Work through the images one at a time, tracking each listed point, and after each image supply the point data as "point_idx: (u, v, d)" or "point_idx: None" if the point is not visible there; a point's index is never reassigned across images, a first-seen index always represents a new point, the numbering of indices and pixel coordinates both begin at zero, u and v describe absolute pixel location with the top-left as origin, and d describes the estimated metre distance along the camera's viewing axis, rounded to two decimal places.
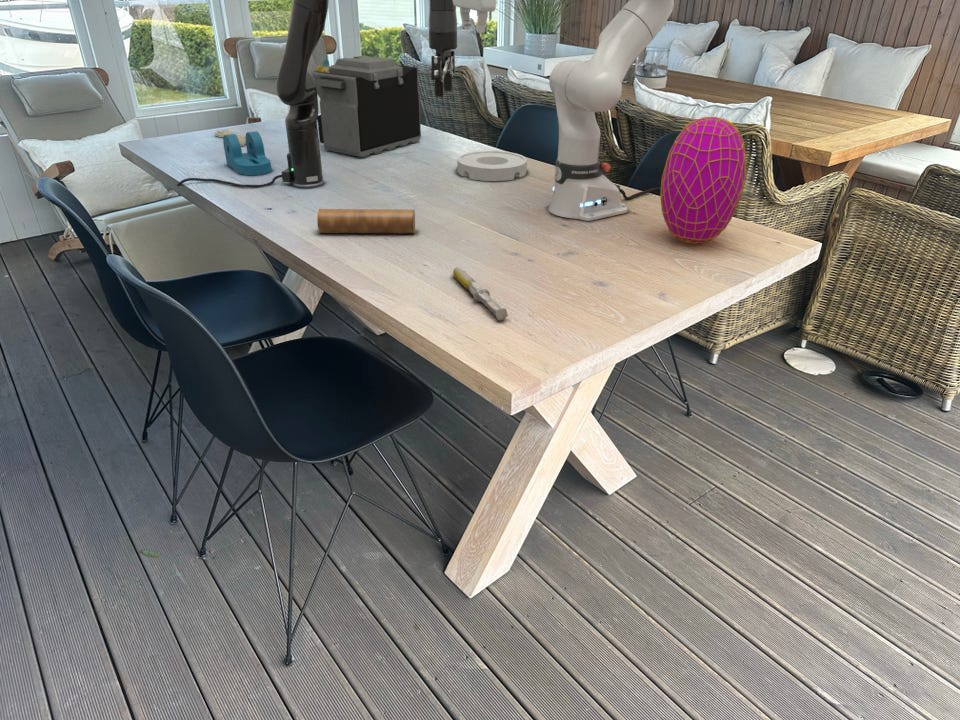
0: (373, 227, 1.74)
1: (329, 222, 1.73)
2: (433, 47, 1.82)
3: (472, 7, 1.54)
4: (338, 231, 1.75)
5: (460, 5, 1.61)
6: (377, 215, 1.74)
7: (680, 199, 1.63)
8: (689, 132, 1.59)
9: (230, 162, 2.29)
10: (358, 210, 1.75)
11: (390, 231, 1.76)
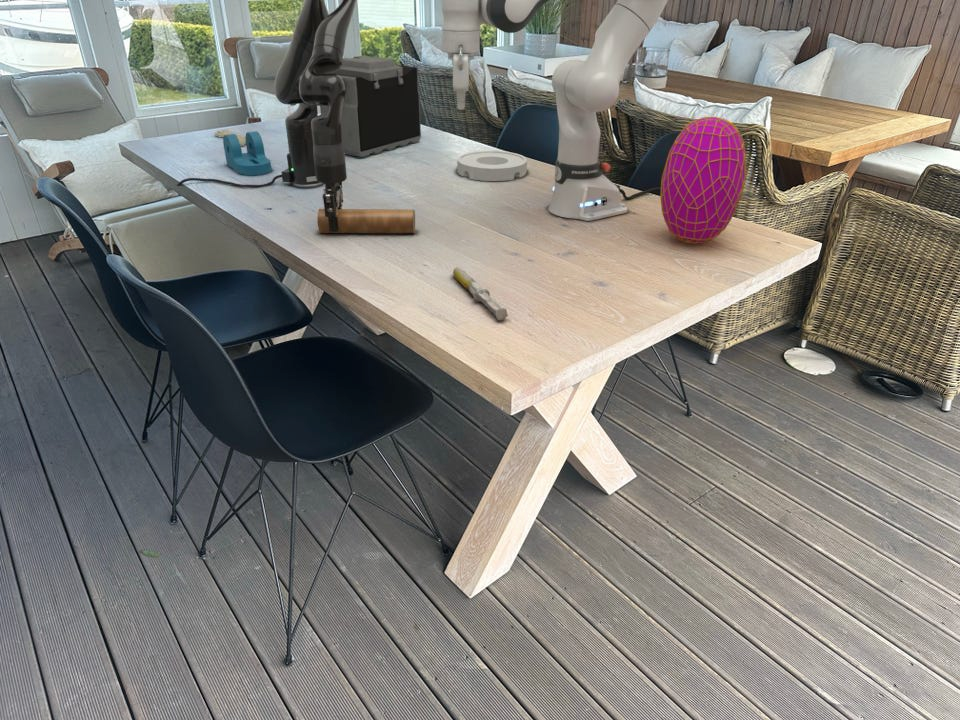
0: (373, 227, 1.74)
1: None
2: None
3: None
4: (338, 231, 1.75)
5: None
6: (377, 215, 1.74)
7: (680, 199, 1.63)
8: (689, 132, 1.59)
9: (230, 162, 2.29)
10: (358, 210, 1.75)
11: (390, 231, 1.76)
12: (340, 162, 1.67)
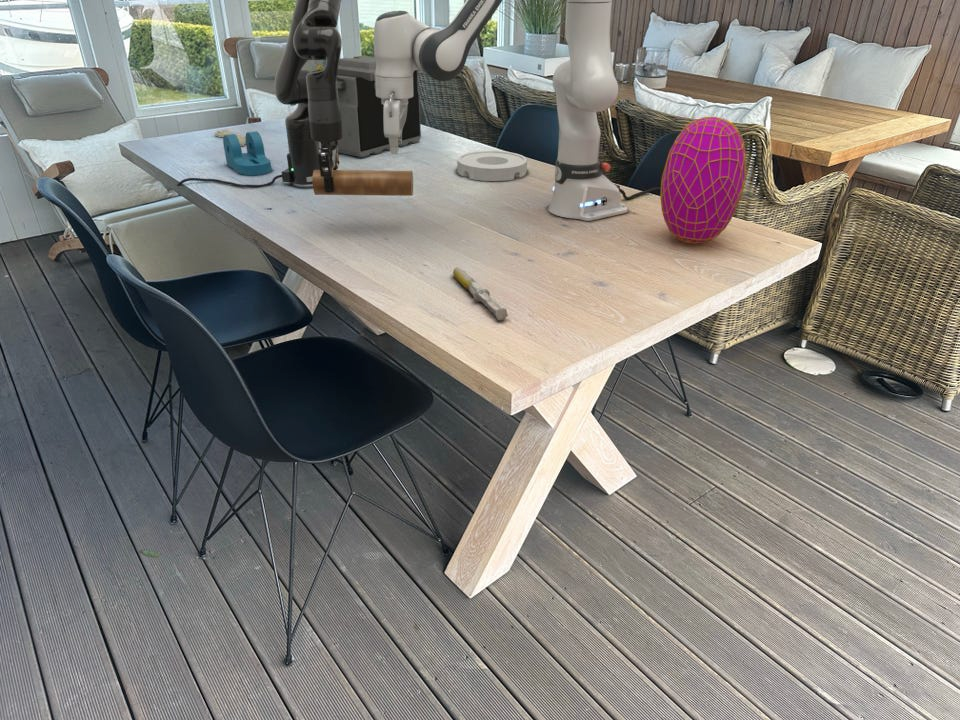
0: (370, 188, 1.69)
1: None
2: None
3: None
4: (334, 193, 1.70)
5: None
6: (374, 176, 1.69)
7: (680, 199, 1.63)
8: (689, 132, 1.59)
9: (230, 162, 2.29)
10: (354, 171, 1.70)
11: (387, 193, 1.71)
12: (336, 119, 1.62)
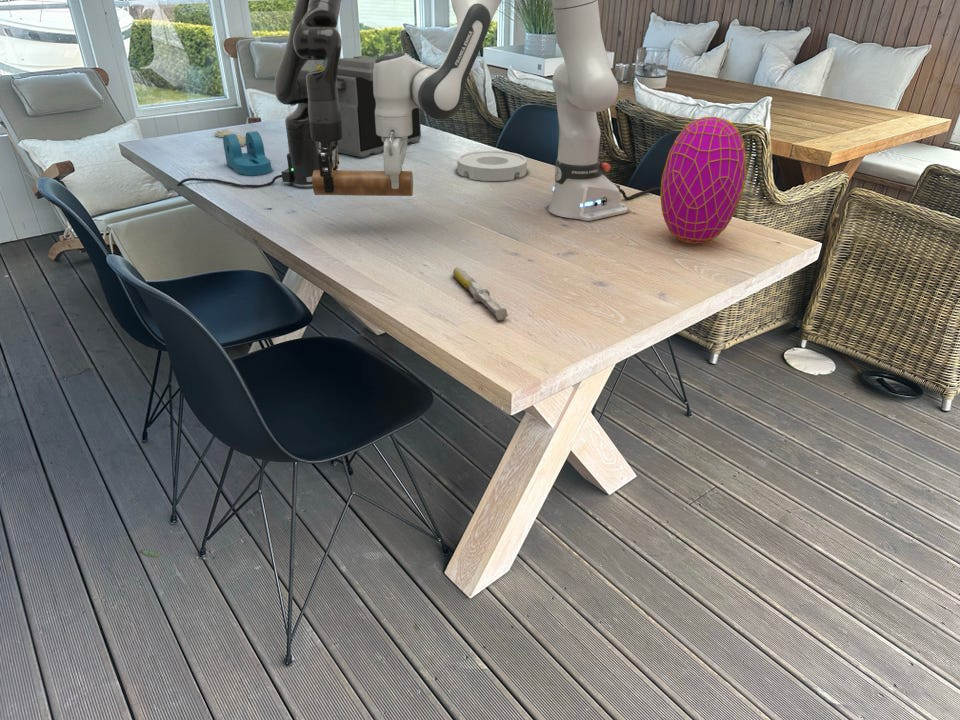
0: (370, 189, 1.69)
1: None
2: None
3: None
4: (334, 193, 1.70)
5: None
6: (374, 176, 1.69)
7: (680, 199, 1.63)
8: (689, 132, 1.59)
9: (230, 162, 2.29)
10: (354, 171, 1.70)
11: (387, 193, 1.70)
12: (336, 120, 1.62)
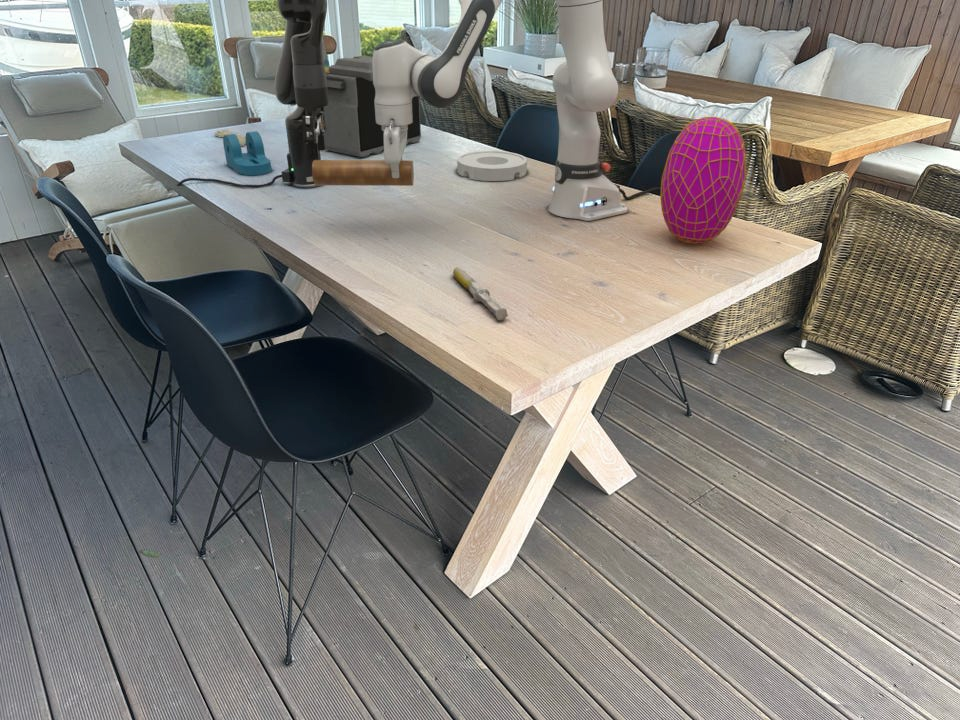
0: (370, 178, 1.68)
1: (324, 173, 1.67)
2: None
3: None
4: (334, 183, 1.69)
5: None
6: (374, 166, 1.67)
7: (680, 199, 1.63)
8: (689, 132, 1.59)
9: (230, 162, 2.29)
10: (354, 161, 1.68)
11: (387, 183, 1.69)
12: (321, 85, 1.57)
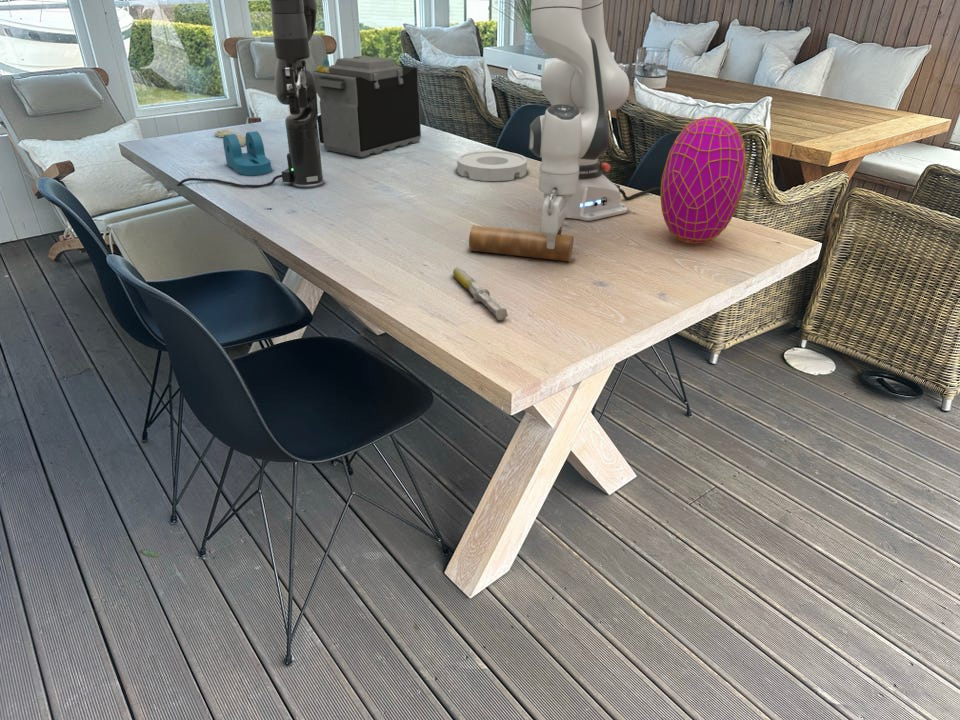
0: (526, 250, 1.62)
1: (480, 241, 1.63)
2: None
3: None
4: (489, 251, 1.65)
5: None
6: (532, 238, 1.61)
7: (680, 199, 1.63)
8: (689, 132, 1.59)
9: (230, 162, 2.29)
10: (513, 231, 1.63)
11: (543, 257, 1.62)
12: (301, 35, 1.52)
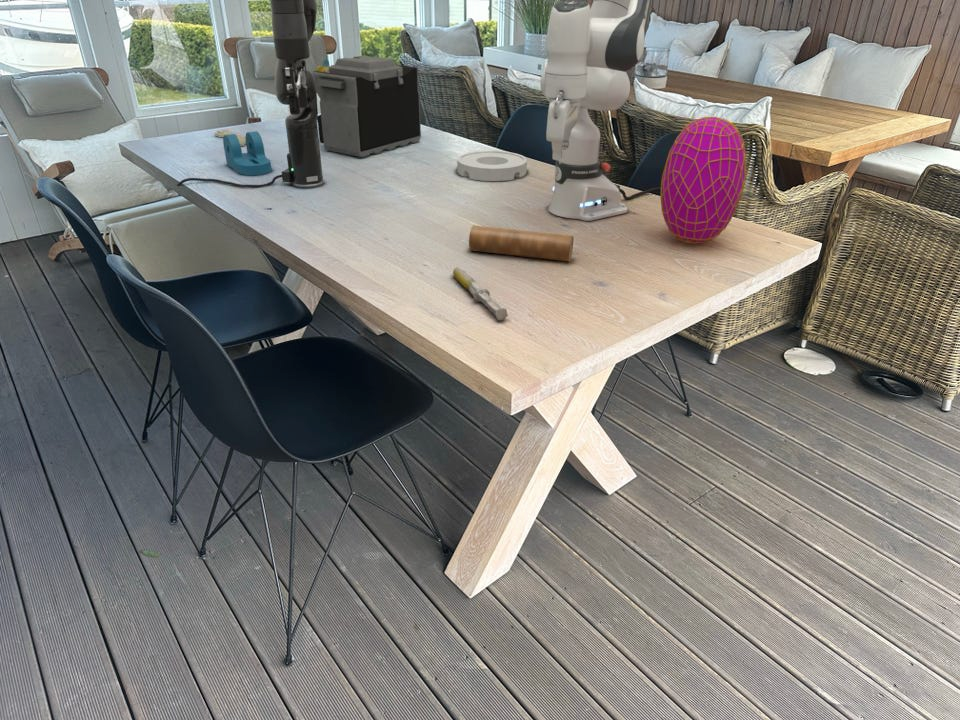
0: (526, 250, 1.62)
1: (480, 241, 1.63)
2: None
3: None
4: (489, 251, 1.65)
5: None
6: (532, 238, 1.61)
7: (680, 199, 1.63)
8: (689, 132, 1.59)
9: (230, 162, 2.29)
10: (513, 231, 1.63)
11: (543, 257, 1.62)
12: (301, 35, 1.52)
